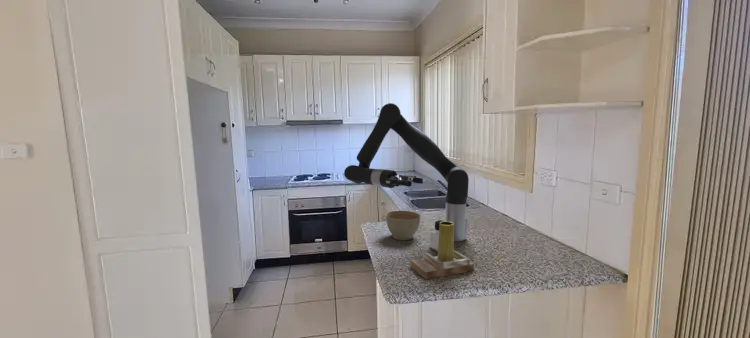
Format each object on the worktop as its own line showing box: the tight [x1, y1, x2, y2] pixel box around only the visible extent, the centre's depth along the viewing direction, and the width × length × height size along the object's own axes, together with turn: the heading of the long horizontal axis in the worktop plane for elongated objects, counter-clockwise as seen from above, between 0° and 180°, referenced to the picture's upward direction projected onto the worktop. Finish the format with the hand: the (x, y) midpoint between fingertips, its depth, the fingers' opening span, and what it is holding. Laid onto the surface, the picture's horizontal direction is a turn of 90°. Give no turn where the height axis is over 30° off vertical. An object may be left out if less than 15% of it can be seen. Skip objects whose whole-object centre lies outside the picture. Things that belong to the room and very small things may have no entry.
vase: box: [437, 220, 455, 262], centre depth 124 cm, size 6×6×14 cm
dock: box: [410, 249, 475, 280], centre depth 123 cm, size 20×11×4 cm, turn 112°
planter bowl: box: [385, 210, 421, 241], centre depth 157 cm, size 16×16×11 cm
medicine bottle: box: [429, 219, 445, 252], centre depth 143 cm, size 7×7×12 cm
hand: (417, 182), depth 132 cm, fingers open, 8 cm apart
